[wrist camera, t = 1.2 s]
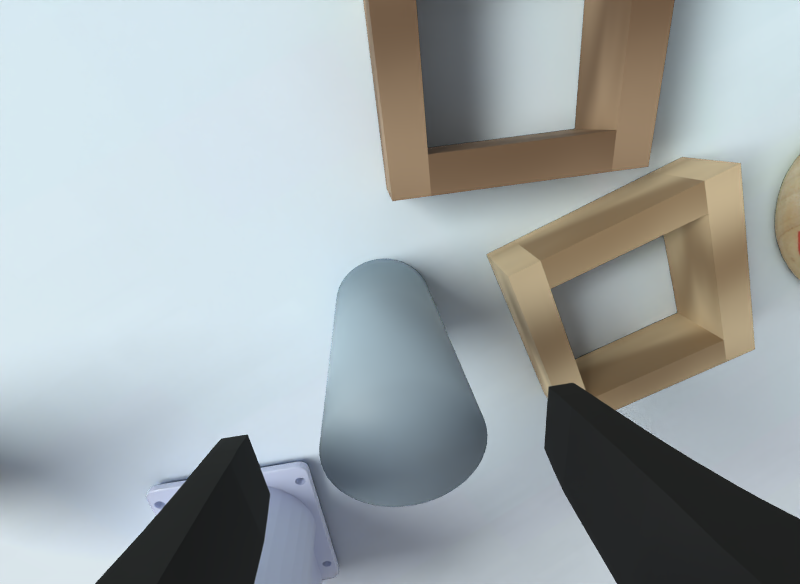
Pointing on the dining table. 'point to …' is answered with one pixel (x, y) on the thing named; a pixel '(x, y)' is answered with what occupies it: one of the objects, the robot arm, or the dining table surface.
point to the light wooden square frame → (689, 267)
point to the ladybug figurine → (789, 218)
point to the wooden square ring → (537, 153)
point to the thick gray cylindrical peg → (396, 393)
